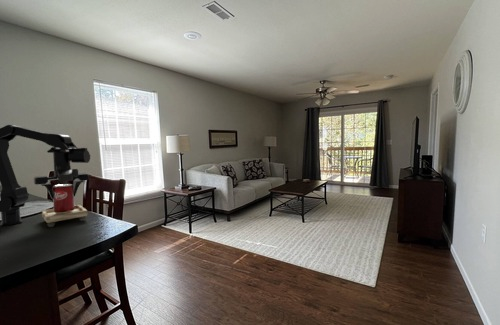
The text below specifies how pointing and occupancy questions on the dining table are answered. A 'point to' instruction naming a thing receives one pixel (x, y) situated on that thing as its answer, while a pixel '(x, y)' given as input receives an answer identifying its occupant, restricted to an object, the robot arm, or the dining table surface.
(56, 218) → the dolly
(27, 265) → the dining table surface
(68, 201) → the soda can
